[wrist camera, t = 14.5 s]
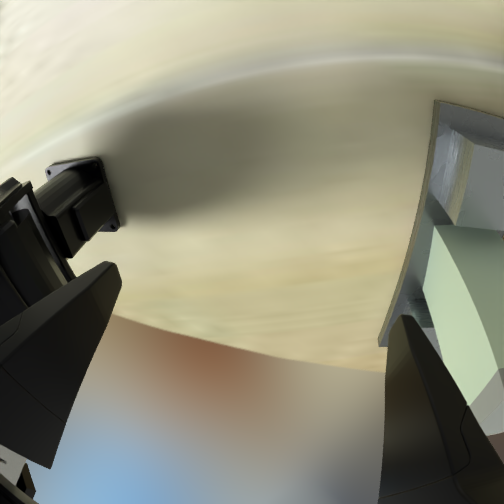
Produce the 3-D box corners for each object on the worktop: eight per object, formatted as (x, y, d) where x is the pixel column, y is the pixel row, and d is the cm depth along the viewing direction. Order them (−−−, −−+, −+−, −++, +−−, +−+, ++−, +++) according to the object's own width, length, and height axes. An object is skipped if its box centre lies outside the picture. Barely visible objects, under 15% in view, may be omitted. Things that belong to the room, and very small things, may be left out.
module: (422, 289, 21) (458, 443, 11) (434, 225, 18) (505, 397, 8) (473, 284, 20) (521, 423, 10) (490, 222, 17) (573, 371, 6)
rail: (377, 338, 27) (381, 372, 24) (434, 99, 14) (463, 113, 11) (446, 337, 26) (454, 368, 23) (523, 125, 13) (557, 144, 9)
